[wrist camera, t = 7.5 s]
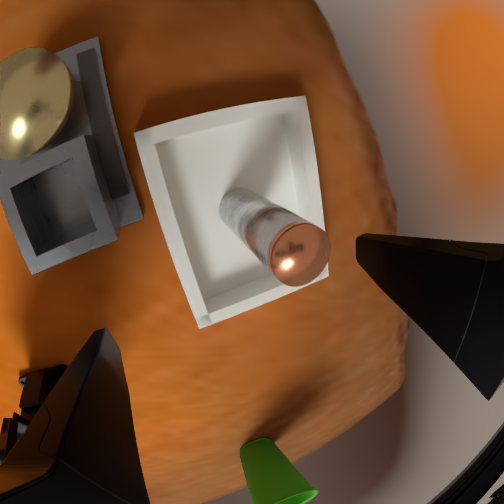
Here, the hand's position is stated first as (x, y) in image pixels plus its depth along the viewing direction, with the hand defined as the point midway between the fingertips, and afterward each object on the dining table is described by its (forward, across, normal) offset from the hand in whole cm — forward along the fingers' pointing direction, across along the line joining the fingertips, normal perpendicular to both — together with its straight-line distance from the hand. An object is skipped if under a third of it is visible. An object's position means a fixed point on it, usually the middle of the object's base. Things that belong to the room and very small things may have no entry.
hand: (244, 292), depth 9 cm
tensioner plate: (+12, +8, -7) cm, 16 cm away
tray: (+12, -4, +1) cm, 13 cm away
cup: (+12, +1, +35) cm, 37 cm away
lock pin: (+11, -4, +1) cm, 12 cm away
